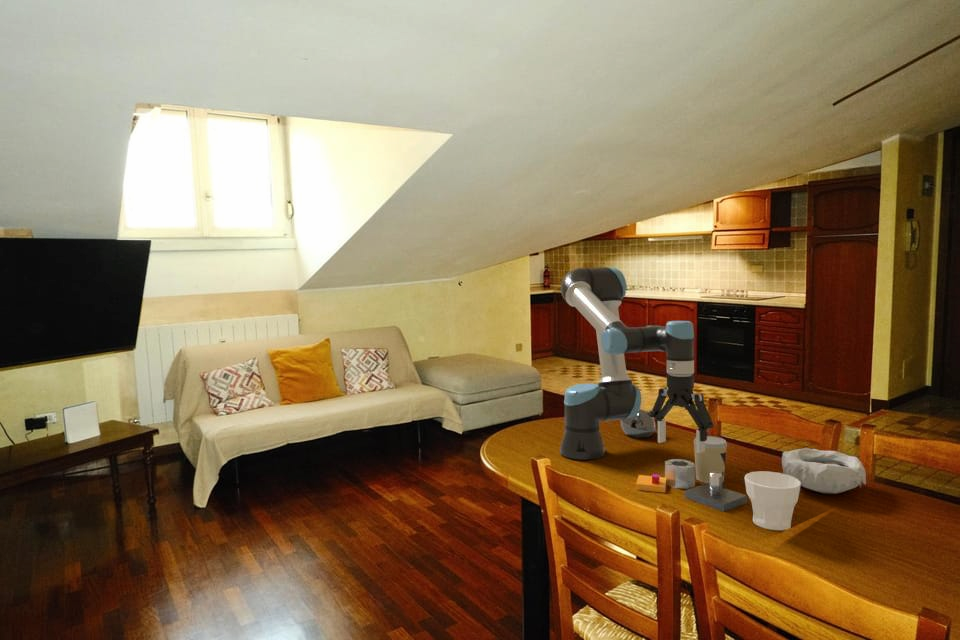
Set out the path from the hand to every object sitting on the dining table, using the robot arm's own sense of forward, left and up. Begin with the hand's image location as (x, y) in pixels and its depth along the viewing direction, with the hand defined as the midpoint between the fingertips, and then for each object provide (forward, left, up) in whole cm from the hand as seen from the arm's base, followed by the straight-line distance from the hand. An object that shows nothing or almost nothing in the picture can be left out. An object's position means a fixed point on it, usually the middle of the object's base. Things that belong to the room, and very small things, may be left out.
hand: (680, 446), depth 174 cm
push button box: (-4, -8, -12) cm, 15 cm away
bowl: (+27, +27, -11) cm, 40 cm away
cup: (+31, -5, -11) cm, 33 cm away
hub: (0, 0, -11) cm, 11 cm away
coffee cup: (+3, +10, -11) cm, 15 cm away
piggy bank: (-39, +26, -11) cm, 49 cm away
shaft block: (+14, -3, -11) cm, 18 cm away
